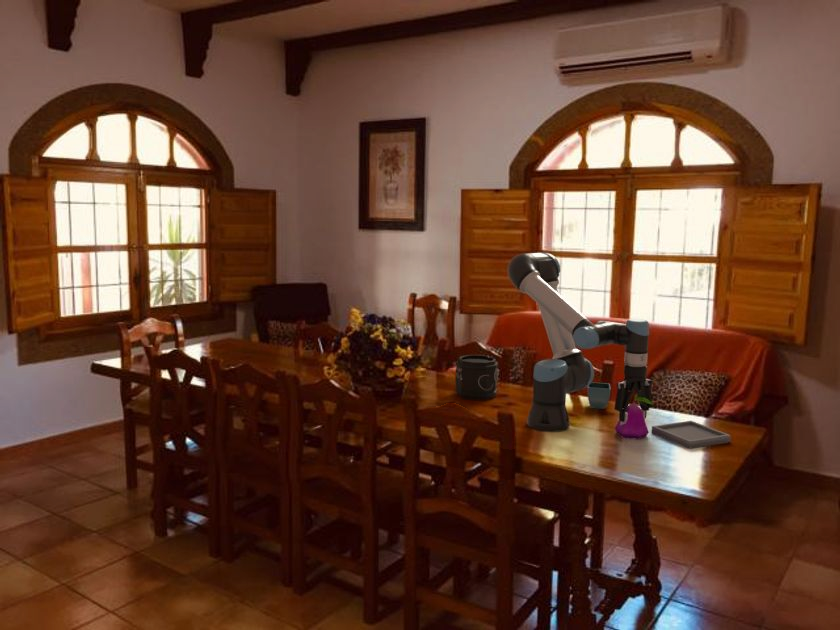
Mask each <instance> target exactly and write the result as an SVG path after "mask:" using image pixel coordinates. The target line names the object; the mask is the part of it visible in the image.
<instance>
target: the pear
mask: <svg viewBox="0 0 840 630" xmlns="http://www.w3.org/2000/svg"><path fill="white" fill-rule="evenodd" d="M636 401H638V402H639V401H641V402H644V403H648V404H652V405H654V403H653V401H652V402H650V401H649V400H648V399H647V398H642V397H639V398H638V395H637V393H634V396H633V402H632V403H631V404H630V403H629V404H628V407H627V410H626V412H627V413H628V419H627V421H626V424H622V425H620V421H619V420H618V422H617V424H616V425H615V427H614V430H615V432H616V434H617V435H619V436H620V437H622V438H623V439H632V440H640V439H644V438H645V437H647V436H648V434H649V433H650V432H649V430H648V426H647V424H646V419H645V420H644V417H643V414H642V412H641V408H640V406H638V404H637V403H636Z"/></svg>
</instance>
